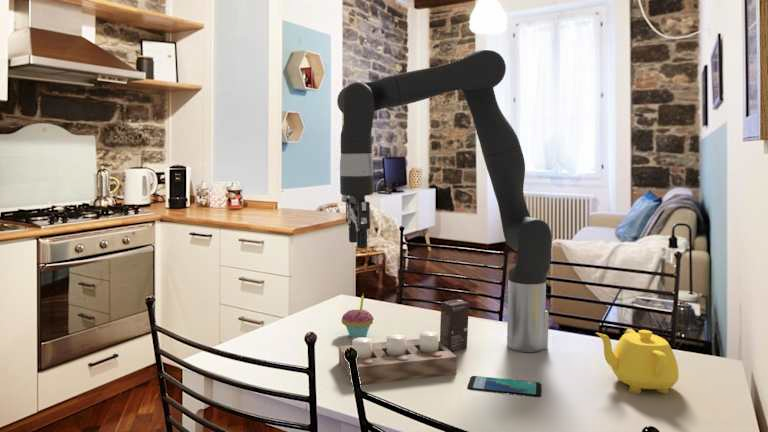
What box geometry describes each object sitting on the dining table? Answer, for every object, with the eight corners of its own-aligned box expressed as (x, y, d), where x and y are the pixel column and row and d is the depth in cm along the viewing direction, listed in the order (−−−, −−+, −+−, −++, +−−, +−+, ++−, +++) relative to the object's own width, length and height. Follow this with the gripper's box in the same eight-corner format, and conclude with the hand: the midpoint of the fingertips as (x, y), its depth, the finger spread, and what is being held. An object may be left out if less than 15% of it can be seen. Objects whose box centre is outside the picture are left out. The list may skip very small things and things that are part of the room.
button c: (369, 355, 129) (369, 336, 129) (374, 361, 125) (374, 342, 124) (350, 356, 128) (350, 338, 127) (354, 363, 124) (354, 344, 123)
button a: (434, 348, 133) (434, 330, 133) (441, 354, 129) (441, 336, 129) (417, 350, 132) (417, 332, 132) (423, 356, 128) (423, 338, 127)
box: (450, 353, 139) (451, 305, 137) (439, 347, 142) (439, 301, 141) (469, 348, 142) (469, 302, 141) (457, 343, 146) (457, 298, 144)
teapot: (620, 367, 129) (622, 317, 128) (687, 385, 119) (690, 331, 118) (593, 384, 119) (595, 330, 118) (663, 405, 109) (667, 346, 108)
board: (434, 353, 139) (434, 336, 138) (456, 373, 125) (456, 355, 125) (339, 362, 132) (338, 345, 132) (351, 385, 119) (351, 366, 118)
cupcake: (379, 334, 154) (379, 291, 152) (361, 342, 146) (361, 297, 145) (353, 328, 158) (353, 287, 157) (335, 337, 151) (334, 293, 150)
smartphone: (471, 375, 124) (541, 382, 120) (470, 378, 124) (541, 385, 120) (466, 387, 117) (541, 395, 113) (466, 391, 117) (541, 399, 113)
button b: (402, 351, 131) (402, 333, 131) (408, 358, 127) (408, 339, 126) (384, 353, 130) (384, 335, 130) (389, 360, 126) (389, 341, 125)
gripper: (380, 174, 121) (381, 249, 122) (365, 172, 134) (366, 239, 136) (346, 175, 119) (348, 250, 120) (334, 173, 132) (336, 241, 134)
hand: (357, 244), depth 128 cm, fingers open, 8 cm apart
